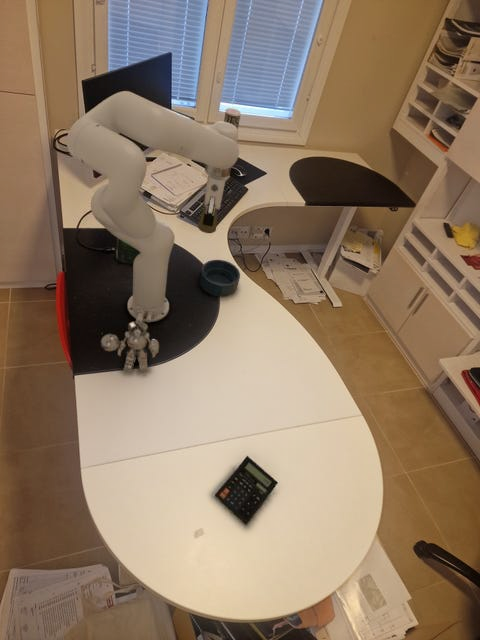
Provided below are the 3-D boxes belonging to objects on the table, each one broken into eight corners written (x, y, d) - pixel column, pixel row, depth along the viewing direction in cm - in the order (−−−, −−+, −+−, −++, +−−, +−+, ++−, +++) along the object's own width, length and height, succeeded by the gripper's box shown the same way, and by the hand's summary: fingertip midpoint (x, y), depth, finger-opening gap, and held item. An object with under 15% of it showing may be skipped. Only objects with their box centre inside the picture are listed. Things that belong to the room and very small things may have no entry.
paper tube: (214, 161, 200) (223, 108, 182) (227, 161, 203) (237, 108, 185) (219, 168, 196) (229, 114, 178) (232, 168, 199) (243, 115, 181)
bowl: (236, 300, 138) (239, 288, 134) (197, 294, 136) (199, 282, 132) (237, 275, 147) (240, 263, 143) (201, 268, 145) (203, 256, 141)
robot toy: (100, 372, 109) (97, 336, 98) (103, 353, 113) (101, 317, 102) (157, 373, 112) (160, 339, 101) (158, 355, 116) (161, 320, 105)
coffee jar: (146, 252, 145) (148, 206, 132) (143, 266, 140) (145, 221, 126) (118, 248, 143) (117, 202, 130) (114, 263, 138) (112, 216, 125)
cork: (206, 220, 138) (212, 190, 130) (219, 229, 136) (226, 200, 128) (194, 226, 134) (198, 195, 126) (207, 235, 132) (213, 205, 124)
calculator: (214, 495, 93) (216, 490, 91) (245, 459, 101) (248, 454, 99) (246, 525, 91) (249, 520, 88) (275, 486, 98) (279, 481, 96)
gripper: (229, 184, 115) (217, 238, 128) (231, 158, 127) (221, 210, 140) (202, 178, 114) (193, 233, 127) (207, 153, 126) (199, 205, 139)
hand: (208, 220), depth 133 cm, fingers closed on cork, 4 cm apart
